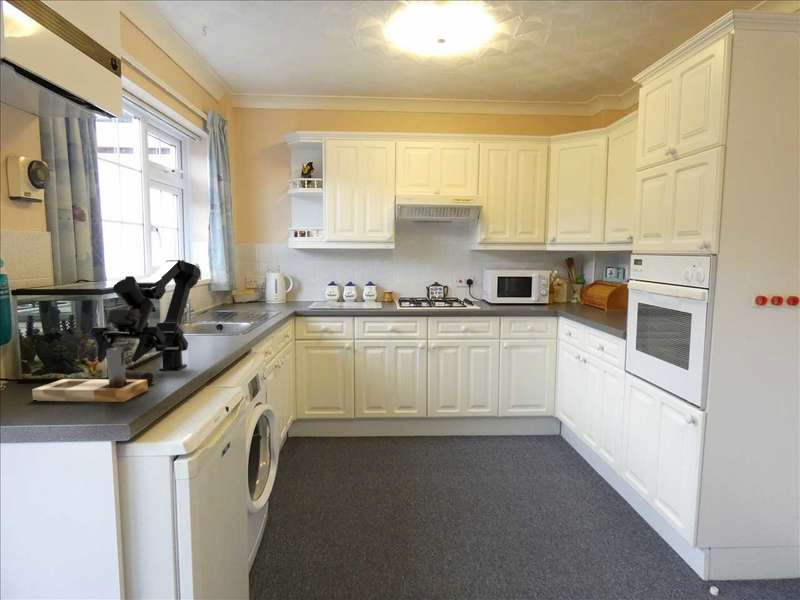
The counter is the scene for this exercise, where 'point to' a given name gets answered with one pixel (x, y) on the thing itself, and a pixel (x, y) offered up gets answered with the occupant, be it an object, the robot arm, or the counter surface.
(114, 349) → the steel peg
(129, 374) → the brown rough long piece
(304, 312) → the counter surface
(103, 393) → the rail board
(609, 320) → the counter surface
